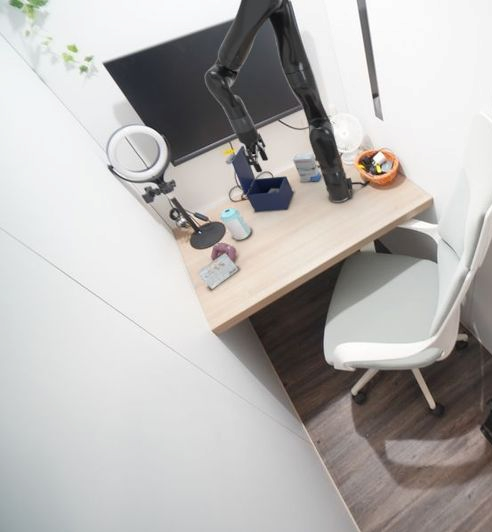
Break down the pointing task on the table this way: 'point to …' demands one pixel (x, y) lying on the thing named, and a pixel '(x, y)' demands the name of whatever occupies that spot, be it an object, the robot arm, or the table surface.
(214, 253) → the video game controller
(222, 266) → the ink box
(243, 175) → the lid
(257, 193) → the chest
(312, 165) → the ink box
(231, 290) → the table surface
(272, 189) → the dice cube
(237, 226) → the can
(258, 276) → the table surface
